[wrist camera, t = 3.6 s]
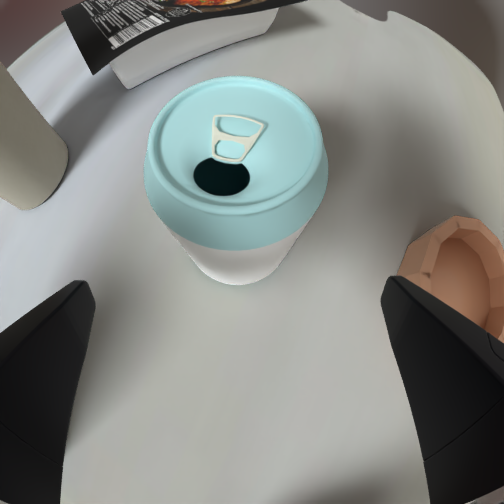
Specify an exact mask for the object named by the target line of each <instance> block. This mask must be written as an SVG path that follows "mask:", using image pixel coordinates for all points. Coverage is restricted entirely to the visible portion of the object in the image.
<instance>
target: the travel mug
mask: <svg viewBox="0 0 504 504" xmlns="http://www.w3.org/2000/svg"><path fill="white" fill-rule="evenodd" d="M67 162H68V149H67V146H66V144H65V142H64V141H63V140H62V139H61V138H60V136H59V135H58V134H57V133H56V132H55V131H54V129H53V128H52V127H51V126H50V125H49V123H48V122H47V121H46V120H45V119H44V117H43V116H42V115H41V114H40V112H39V111H38V110H37V109H36V108H35V106H34V105H33V104H32V103H31V101H30V100H29V99H28V97H27V96H26V95H25V94H24V92H23V91H22V90H21V88H20V87H19V86H18V84H17V83H16V82H15V81H14V79H13V78H12V76H11V75H10V74H9V72H8V71H7V70H6V68H5V67H4V66H3V64H2V63H1V61H0V197H1V198H2V199H4V200H6V201H7V202H9V203H10V204H12V205H14V206H15V207H17V208H19V209H21V210H30V209H33V208H35V207H37V206H39V205H40V204H41V203H43V202H44V201H45V200H46V199H47V198H48V197H49V196H50V195H51V194H52V193H53V191H54V190H55V189H56V187H57V186H58V184H59V182H60V181H61V179H62V177H63V175H64V172H65V169H66V166H67Z"/></svg>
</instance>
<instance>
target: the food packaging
mask: <svg viewBox="0 0 504 504" xmlns="http://www.w3.org/2000/svg"><path fill="white" fill-rule="evenodd" d="M304 1H308V0H85V1H83V2H81V3H79V4H76V5H74V6H72V7H70V8H68V9H65V10H63V11H61V13H62V15H63V17H64V19H65V21H66V23H67V26H68V28H69V30H70V32H71V34H72V36H73V38H74V40H75V42H76V44H77V46H78V48H79V50H80V52H81V54H82V56H83V58H84V60H85V61H86V63H87V65H88V67H89V69H90V71H91V73H92V75H94V74H96V73H97V72H98V71H99V70H101V69H102V68H103V67H105V66H106V65H107V64H110V66H111V67H112V69H113V71H114V72H115V74H116V75H117V77H118V78H119V80H120V81H121V82H122V84H123V85H124V86H125V87H126V88H127V89H132V88H134V87H135V86H137V85H139V84H141V83H143V82H145V81H147V80H148V79H150V78H152V77H154V76H156V75H158V74H160V73H162V72H164V71H166V70H168V69H170V68H173V67H175V66H177V65H179V64H181V63H184V62H186V61H188V60H190V59H193V58H195V57H198V56H200V55H203V54H205V53H208V52H210V51H213V50H215V49H218V48H221V47H224V46H226V45H229V44H232V43H235V42H238V41H241V40H244V39H248V38H251V37H254V36H258V35H261V34H264V33H265V32H266V31H267V30H268V28H269V27H270V25H271V24H272V23H273V21H274V19H275V17H276V14H277V12H278V9H279V8H280V7H284V6H288V5H292V4H296V3H300V2H304Z"/></svg>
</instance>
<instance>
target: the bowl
mask: <svg viewBox="0 0 504 504" xmlns="http://www.w3.org/2000/svg"><path fill="white" fill-rule="evenodd" d="M398 275H400V276H403V277H405V278H406V279H408V280H409V281H411V282H413V283H414V284H416V285H417V286H419V287H421V288H422V289H424V290H425V291H427V292H429V293H430V294H432V295H433V296H435V297H436V298H438V299H440V300H441V301H443V302H444V303H446V304H447V305H449V306H450V307H452V308H453V309H455V310H456V311H458V312H459V313H461V314H462V315H464V316H465V317H467V318H468V319H470V320H471V321H473V322H474V323H476V324H477V325H478V326H480V327H481V328H483V329H484V330H486V332H489V333H490V334H491V335H493V336H494V337H496V338H497V339H498V340H500V341H501V342H503V343H504V250H503V247H502V245H501V243H500V241H499V239H498V238H497V237H496V236H495V235H494V234H493V233H492V232H491V231H490V230H489V229H488V228H487V227H486V226H485V225H484V224H483V223H482V222H481V221H480V220H479V219H473V218H467V217H461V216H453V217H451V218H449V219H447V220H446V221H444V222H442V223H440V224H439V225H437V226H435V227H433V228H431V229H430V230H428V231H427V232H426V233H424V234H423V235H422V236H420V237H419V238H418V239H416V240H415V241H414V242H412V243H411V244H409V245H408V247H407V250H406V253H405V255H404V258H403V260H402V263H401V266H400V268H399V270H398V273H397V275H396V276H398Z"/></svg>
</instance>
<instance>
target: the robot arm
mask: <svg viewBox="0 0 504 504" xmlns="http://www.w3.org/2000/svg"><path fill="white" fill-rule="evenodd" d="M381 307H382V311H383V314H384V318H385V322H386V326H387V330H388V334H389V339H390V342H391V346H392V349H393V352H394V355H395V358H396V361H397V364H398V367H399V371H400V374H401V377H402V380H403V383H404V387H405V390H406V393H407V397H408V400H409V404H410V407H411V411H412V415H413V419H414V422H415V426H416V430H417V435H418V439H419V443H420V447H421V452H422V457H423V461H424V467H425V473H426V478H427V484H428V490H429V496H430V503H431V504H465V503H468V502H470V501H473V500H475V501H474V502H472V503H471V504H504V343H503V342H501V341H500V340H498V339H497V338H496V337H494V336H493V335H491V334H490V333H489V332H486V330H484V329H483V328H481V327H480V326H478V325H477V324H476V323H474V322H473V321H471V320H470V319H468V318H467V317H465V316H464V315H462V314H461V313H459V312H458V311H456V310H455V309H453V308H452V307H450V306H449V305H447V304H446V303H444V302H443V301H441V300H440V299H438V298H436V297H435V296H433V295H432V294H430V293H429V292H427V291H425V290H424V289H422V288H421V287H419V286H417V285H416V284H414V283H413V282H411V281H409V280H408V279H406V278H405V277H403V276H400V275H398V276H390V277H388V279H387V281H386V284H385V287H384V290H383V293H382V296H381ZM95 308H96V304H95V300H94V297H93V295H92V292H91V290H90V287H89V285H88V283H87V282H86V281H84V280H75V281H73V282H71V283H70V284H68V285H67V286H65V287H64V288H62V289H61V290H59V291H58V292H56V293H55V294H53V295H52V296H50V297H49V298H47V299H46V300H45V301H43V302H42V303H40V304H39V305H38V306H36V307H35V308H33V309H32V310H31V311H29V312H28V313H26V314H25V315H24V316H22V317H21V318H20V319H18V320H17V321H16V322H14V323H13V324H12V325H10V326H9V327H8V328H6V329H5V330H4V331H2V332H1V333H0V504H60V497H61V483H62V472H63V467H62V466H63V462H64V454H65V447H66V440H67V434H68V428H69V423H70V417H71V412H72V408H73V403H74V398H75V394H76V390H77V385H78V381H79V377H80V374H81V370H82V366H83V362H84V359H85V355H86V351H87V347H88V342H89V337H90V332H91V327H92V322H93V317H94V313H95Z"/></svg>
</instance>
